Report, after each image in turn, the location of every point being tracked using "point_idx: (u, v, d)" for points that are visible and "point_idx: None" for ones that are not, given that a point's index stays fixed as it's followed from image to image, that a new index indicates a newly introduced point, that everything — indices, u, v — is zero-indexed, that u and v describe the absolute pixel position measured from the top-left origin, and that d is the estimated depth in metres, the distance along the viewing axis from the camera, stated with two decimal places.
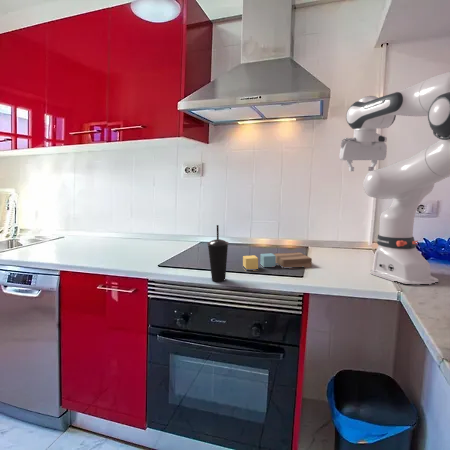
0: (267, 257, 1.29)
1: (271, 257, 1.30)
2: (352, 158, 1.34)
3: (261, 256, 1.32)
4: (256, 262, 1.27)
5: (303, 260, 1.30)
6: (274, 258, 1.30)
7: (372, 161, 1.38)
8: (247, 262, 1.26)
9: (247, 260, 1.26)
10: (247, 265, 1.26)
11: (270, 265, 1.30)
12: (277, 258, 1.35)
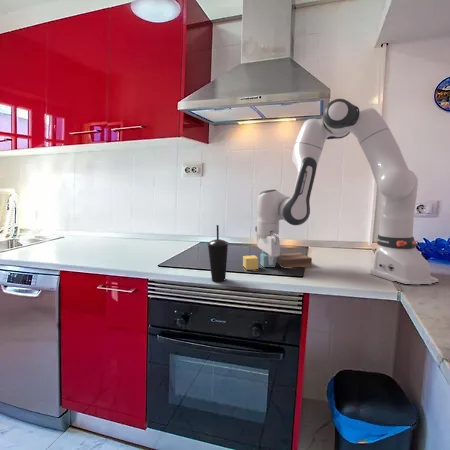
0: (266, 257, 1.29)
1: None
2: None
3: (261, 256, 1.32)
4: (256, 262, 1.27)
5: (303, 260, 1.30)
6: (274, 258, 1.30)
7: None
8: (247, 262, 1.26)
9: (247, 260, 1.26)
10: (247, 265, 1.26)
11: (270, 265, 1.30)
12: (277, 258, 1.35)
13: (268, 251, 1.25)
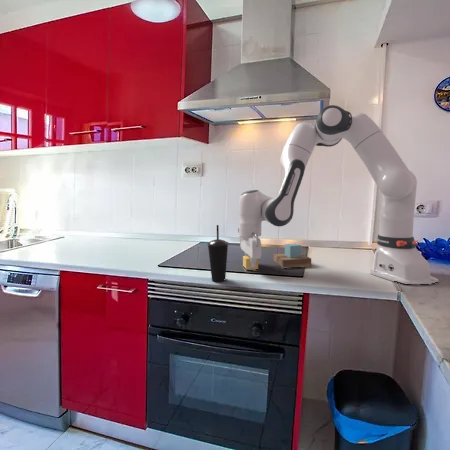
0: (293, 247, 1.32)
1: (297, 246, 1.32)
2: None
3: (286, 246, 1.35)
4: (256, 262, 1.27)
5: (303, 260, 1.30)
6: (300, 247, 1.33)
7: None
8: (247, 262, 1.26)
9: (247, 260, 1.26)
10: (247, 265, 1.26)
11: (296, 254, 1.32)
12: (277, 258, 1.36)
13: (250, 253, 1.22)
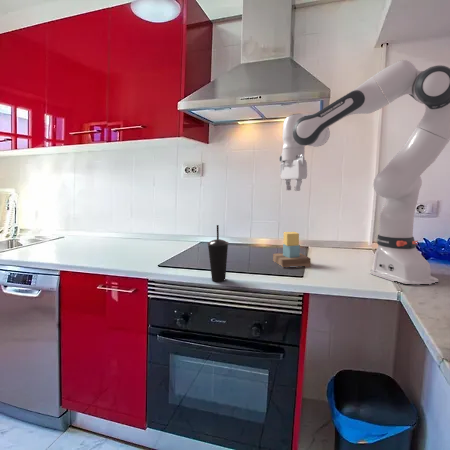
0: (292, 247, 1.32)
1: (296, 246, 1.33)
2: None
3: (285, 246, 1.35)
4: (297, 237, 1.32)
5: (302, 260, 1.30)
6: (298, 247, 1.33)
7: (287, 180, 1.36)
8: (288, 237, 1.31)
9: (288, 235, 1.31)
10: (288, 240, 1.32)
11: (295, 254, 1.33)
12: (276, 258, 1.36)
13: (294, 175, 1.24)
